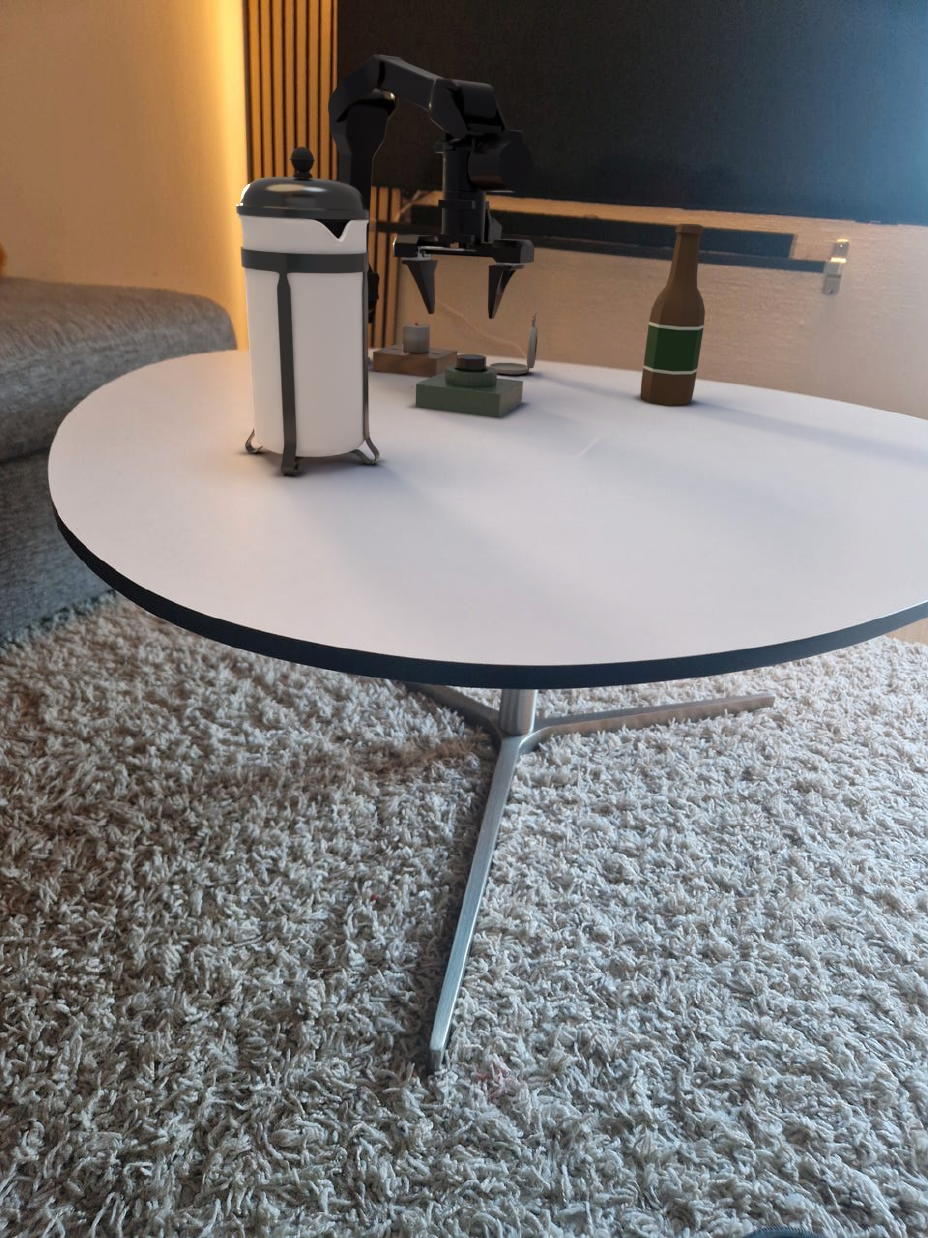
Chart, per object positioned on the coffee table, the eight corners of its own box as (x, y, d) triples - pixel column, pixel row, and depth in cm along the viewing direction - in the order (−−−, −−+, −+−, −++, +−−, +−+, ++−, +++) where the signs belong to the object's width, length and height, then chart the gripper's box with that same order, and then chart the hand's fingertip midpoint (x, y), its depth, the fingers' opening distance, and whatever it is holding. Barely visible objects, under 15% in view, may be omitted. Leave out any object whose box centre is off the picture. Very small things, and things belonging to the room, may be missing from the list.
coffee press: (402, 446, 103) (405, 153, 90) (350, 484, 89) (345, 144, 76) (265, 430, 107) (250, 147, 94) (194, 464, 93) (164, 138, 80)
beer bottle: (688, 396, 136) (714, 224, 126) (695, 407, 129) (723, 226, 119) (637, 393, 137) (658, 221, 126) (641, 404, 130) (664, 223, 119)
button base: (415, 407, 122) (416, 369, 120) (443, 394, 130) (444, 358, 128) (498, 418, 118) (500, 379, 116) (521, 403, 126) (524, 367, 124)
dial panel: (373, 370, 144) (372, 350, 143) (396, 362, 152) (396, 343, 150) (436, 378, 141) (436, 357, 139) (456, 369, 148) (457, 349, 147)
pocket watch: (482, 369, 149) (485, 306, 145) (526, 367, 153) (530, 305, 148) (504, 378, 143) (508, 313, 138) (550, 376, 146) (555, 312, 142)
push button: (452, 372, 121) (452, 356, 120) (462, 367, 124) (463, 352, 124) (479, 375, 120) (480, 359, 119) (489, 370, 123) (490, 355, 122)
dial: (431, 353, 143) (431, 325, 141) (403, 352, 143) (404, 324, 141) (427, 348, 147) (428, 321, 145) (400, 348, 146) (401, 320, 145)
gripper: (551, 194, 121) (544, 316, 127) (428, 191, 128) (427, 306, 134) (522, 192, 112) (515, 323, 118) (390, 189, 118) (391, 313, 125)
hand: (461, 316), depth 124 cm, fingers open, 9 cm apart
